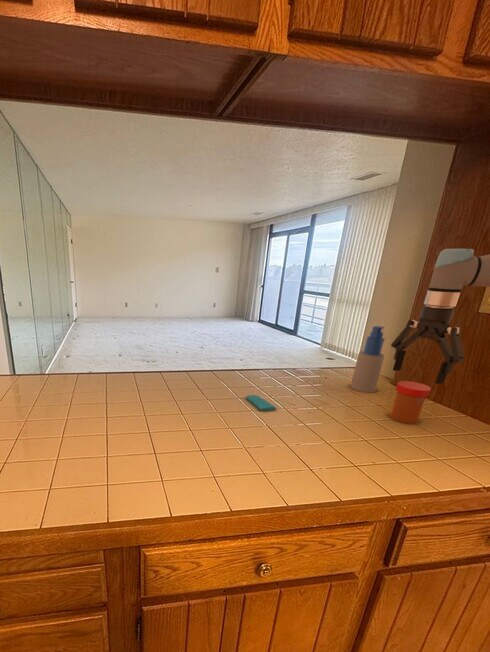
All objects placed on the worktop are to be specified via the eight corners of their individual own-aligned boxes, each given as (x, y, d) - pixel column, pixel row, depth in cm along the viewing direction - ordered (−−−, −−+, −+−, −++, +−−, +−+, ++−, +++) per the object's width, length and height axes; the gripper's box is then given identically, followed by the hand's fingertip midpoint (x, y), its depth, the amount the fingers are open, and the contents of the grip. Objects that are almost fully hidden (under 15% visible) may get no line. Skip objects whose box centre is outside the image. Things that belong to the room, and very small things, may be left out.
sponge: (260, 394, 129) (246, 393, 127) (276, 407, 118) (261, 406, 117) (259, 398, 129) (245, 397, 128) (275, 411, 119) (260, 410, 117)
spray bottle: (380, 390, 138) (397, 327, 129) (364, 393, 135) (381, 329, 125) (360, 383, 146) (375, 323, 136) (345, 386, 143) (360, 325, 133)
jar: (422, 421, 112) (433, 390, 108) (406, 425, 109) (417, 392, 105) (400, 412, 119) (409, 382, 114) (384, 415, 116) (393, 384, 112)
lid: (393, 385, 116) (395, 379, 115) (425, 389, 113) (427, 383, 112) (398, 394, 108) (400, 387, 107) (432, 399, 105) (434, 392, 104)
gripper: (497, 312, 91) (468, 388, 99) (406, 301, 112) (388, 364, 120) (480, 313, 88) (452, 391, 96) (390, 301, 109) (373, 366, 118)
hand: (416, 376), depth 108 cm, fingers open, 13 cm apart
